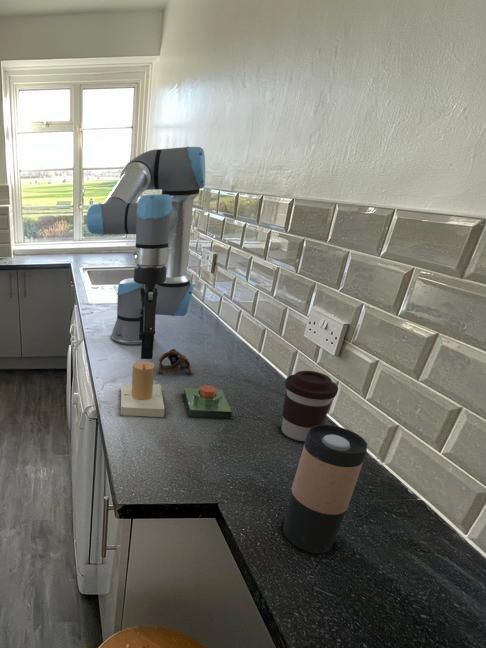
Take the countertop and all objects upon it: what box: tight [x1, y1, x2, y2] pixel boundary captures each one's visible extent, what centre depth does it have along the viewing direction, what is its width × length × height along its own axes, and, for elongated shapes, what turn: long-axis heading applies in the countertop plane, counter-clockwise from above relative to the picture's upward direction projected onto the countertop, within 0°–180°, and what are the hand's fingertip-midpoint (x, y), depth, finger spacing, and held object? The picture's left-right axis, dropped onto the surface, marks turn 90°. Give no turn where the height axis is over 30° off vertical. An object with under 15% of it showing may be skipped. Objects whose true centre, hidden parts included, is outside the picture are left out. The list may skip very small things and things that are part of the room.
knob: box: [131, 360, 155, 400], centre depth 108 cm, size 6×6×9 cm
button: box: [199, 384, 217, 397], centre depth 106 cm, size 4×4×2 cm
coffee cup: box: [280, 370, 339, 442], centre depth 92 cm, size 10×10×15 cm
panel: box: [120, 382, 166, 418], centre depth 110 cm, size 14×11×3 cm
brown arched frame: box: [158, 348, 192, 376], centre depth 127 cm, size 12×10×8 cm
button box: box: [183, 387, 232, 420], centre depth 107 cm, size 12×10×4 cm
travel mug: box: [282, 424, 368, 554], centre depth 64 cm, size 8×8×20 cm
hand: (145, 348), depth 104 cm, fingers open, 13 cm apart
